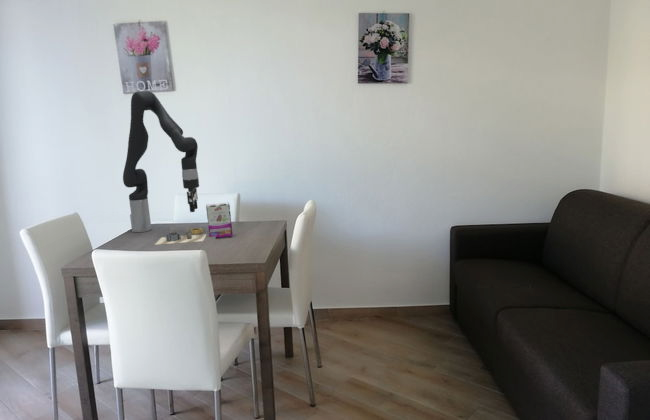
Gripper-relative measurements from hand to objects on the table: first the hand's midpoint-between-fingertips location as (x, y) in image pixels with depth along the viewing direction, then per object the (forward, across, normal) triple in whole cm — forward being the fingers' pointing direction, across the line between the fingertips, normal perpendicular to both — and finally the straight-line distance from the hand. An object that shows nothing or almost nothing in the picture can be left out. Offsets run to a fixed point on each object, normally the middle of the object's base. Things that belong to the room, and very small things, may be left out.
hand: (193, 210), depth 233 cm
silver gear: (+12, +12, -9) cm, 19 cm away
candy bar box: (+13, +8, +13) cm, 20 cm away
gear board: (+13, +12, -5) cm, 18 cm away
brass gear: (+13, 0, 0) cm, 13 cm away
